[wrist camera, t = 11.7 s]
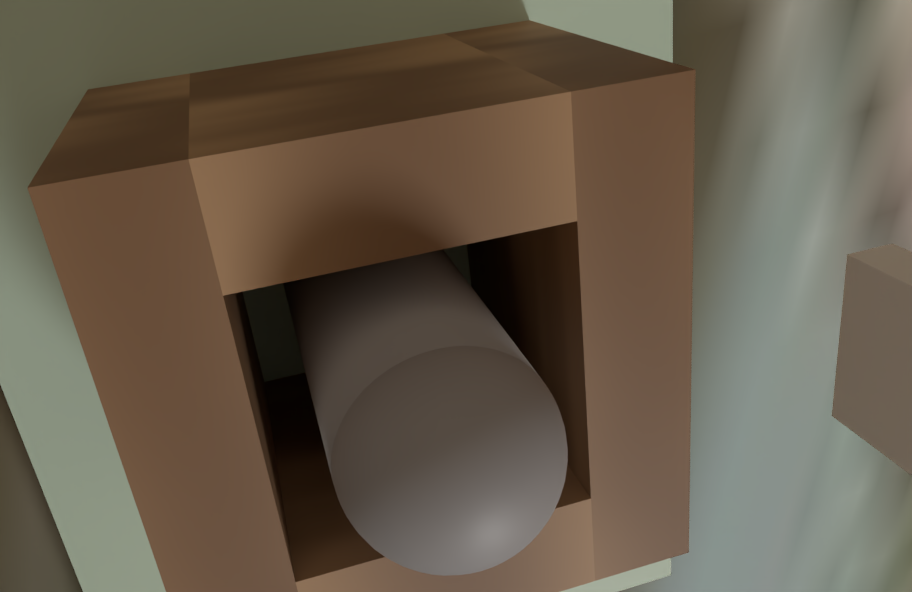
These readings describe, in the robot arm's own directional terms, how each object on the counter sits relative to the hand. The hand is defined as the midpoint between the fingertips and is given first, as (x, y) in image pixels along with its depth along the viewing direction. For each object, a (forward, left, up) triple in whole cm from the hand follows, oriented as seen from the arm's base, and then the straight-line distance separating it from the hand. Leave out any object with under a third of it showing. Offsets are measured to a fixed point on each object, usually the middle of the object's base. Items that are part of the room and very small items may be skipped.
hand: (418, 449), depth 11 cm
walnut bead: (0, 0, -7) cm, 7 cm away
